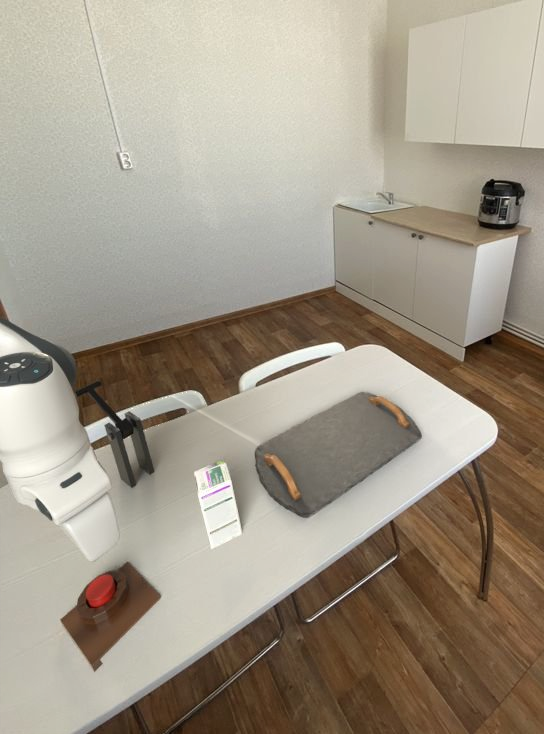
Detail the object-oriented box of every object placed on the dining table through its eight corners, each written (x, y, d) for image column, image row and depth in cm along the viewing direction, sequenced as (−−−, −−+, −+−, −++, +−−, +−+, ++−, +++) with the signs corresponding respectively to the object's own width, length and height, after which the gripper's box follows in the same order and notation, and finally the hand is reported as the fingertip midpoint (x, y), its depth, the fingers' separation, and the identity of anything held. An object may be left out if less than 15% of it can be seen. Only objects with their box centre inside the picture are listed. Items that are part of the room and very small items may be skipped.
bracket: (108, 482, 83) (89, 424, 78) (144, 458, 89) (129, 402, 84) (132, 504, 78) (114, 443, 73) (169, 476, 84) (154, 419, 79)
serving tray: (293, 539, 71) (291, 515, 69) (242, 462, 88) (239, 441, 85) (432, 439, 94) (433, 418, 91) (370, 394, 110) (370, 375, 108)
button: (84, 598, 59) (81, 590, 59) (108, 577, 62) (106, 569, 62) (95, 612, 58) (92, 605, 57) (120, 590, 60) (117, 582, 60)
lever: (74, 396, 83) (73, 389, 82) (99, 384, 87) (98, 377, 86) (115, 444, 77) (115, 437, 76) (140, 429, 81) (140, 422, 80)
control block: (62, 625, 59) (55, 611, 57) (128, 567, 67) (123, 553, 65) (94, 672, 53) (87, 657, 52) (162, 603, 61) (157, 589, 60)
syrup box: (244, 538, 71) (233, 479, 66) (210, 555, 68) (197, 495, 63) (236, 514, 76) (226, 457, 71) (205, 528, 73) (192, 470, 68)
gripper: (-4, 451, 54) (27, 521, 59) (59, 524, 43) (91, 602, 48) (49, 424, 59) (73, 491, 64) (117, 484, 48) (141, 558, 53)
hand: (82, 539), depth 56 cm, fingers open, 7 cm apart
